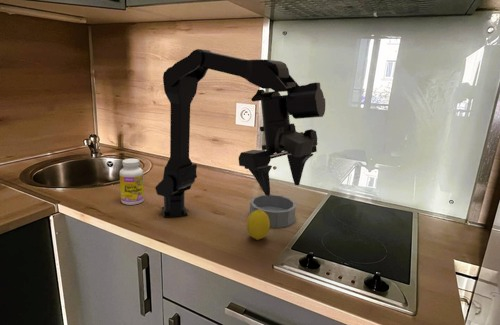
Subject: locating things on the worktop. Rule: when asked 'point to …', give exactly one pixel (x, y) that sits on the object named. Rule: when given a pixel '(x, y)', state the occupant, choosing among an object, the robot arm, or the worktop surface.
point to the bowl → (275, 209)
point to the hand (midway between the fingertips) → (282, 190)
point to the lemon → (258, 224)
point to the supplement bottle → (131, 182)
